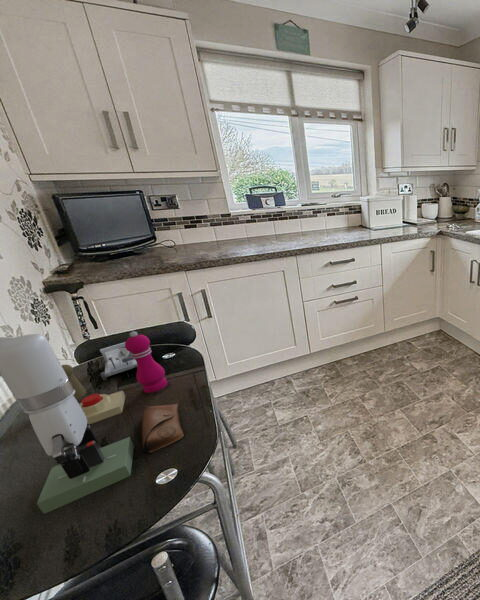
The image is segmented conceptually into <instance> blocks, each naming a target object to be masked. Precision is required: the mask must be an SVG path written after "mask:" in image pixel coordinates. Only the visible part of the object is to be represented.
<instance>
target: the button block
mask: <svg viewBox="0 0 480 600" xmlns="http://www.w3.org/2000/svg"><path fill="white" fill-rule="evenodd" d="M100 396H101V398H102V400H101V401H100V402H98V403H96V404H95V405H92V406H89V407H84V406H83V404H82V402H81V401H80V403H79V405H80V407H81V408H82V410H83V412H84V414H85V416H86V418H87V423H88V424H89V425H91V424H94V423H97V422H100V421H103V420H105V419H108V418H111V417H113V416H116V415H120V414H122V413H123V410H124V407H125V406H124V405H125V400H126V394H125V392H124V390H119V391H116V392H114V393H110V394H106V393H101V394H100Z"/></svg>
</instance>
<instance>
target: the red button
mask: <svg viewBox="0 0 480 600" xmlns="http://www.w3.org/2000/svg"><path fill="white" fill-rule="evenodd" d="M100 395H101V394H100V393H92V394H90V395H88V396H85V397H84V398H82V399H81V401H80V403H81V402H82V404H83V406H84V407H89V406H92V405H95V404H96V403H98V402H100V401H101V400H102V398H101V396H100Z"/></svg>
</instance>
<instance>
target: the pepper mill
mask: <svg viewBox="0 0 480 600" xmlns="http://www.w3.org/2000/svg"><path fill="white" fill-rule="evenodd" d="M150 344H151V340H150V339H149V337H148V336H146V335H144V334H138V332H137V331H135V330H132V331H131V332H129V337H128V338H127V339H126V340H125V348H126V349H127V350H128V351H129V352H131V355H132V358H135V360H136V362H137V366H138V367H136V368H137V369H136V380H137V383H138V384H139V385H142V390H143V392H144V393H145V394H151V393H155V392H158V391H160V390H162V389H164V388H165V387H166V386H168V380H167V378H166V377H165V375H166V371H165V368H163V366H161V364H160V363H158V362H156V361H155V360H154V358H153V356H152V348H151V347H150Z"/></svg>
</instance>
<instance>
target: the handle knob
mask: <svg viewBox="0 0 480 600" xmlns="http://www.w3.org/2000/svg"><path fill="white" fill-rule="evenodd" d="M78 450H79V455H80V456H81V455H83V457H84V459H85V460H86V462H87V464H88V465H89V467H93V466H95V465H97V464H100V463H102V462H104V456H103V454H102V452H101V450H100V447H99V445H98V442H97V443H96V441H91V442H88V443H87V444H85V445H82V446H80V447H78ZM65 452H66V454H73V451H72V449H70V450H67V451H65Z"/></svg>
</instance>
